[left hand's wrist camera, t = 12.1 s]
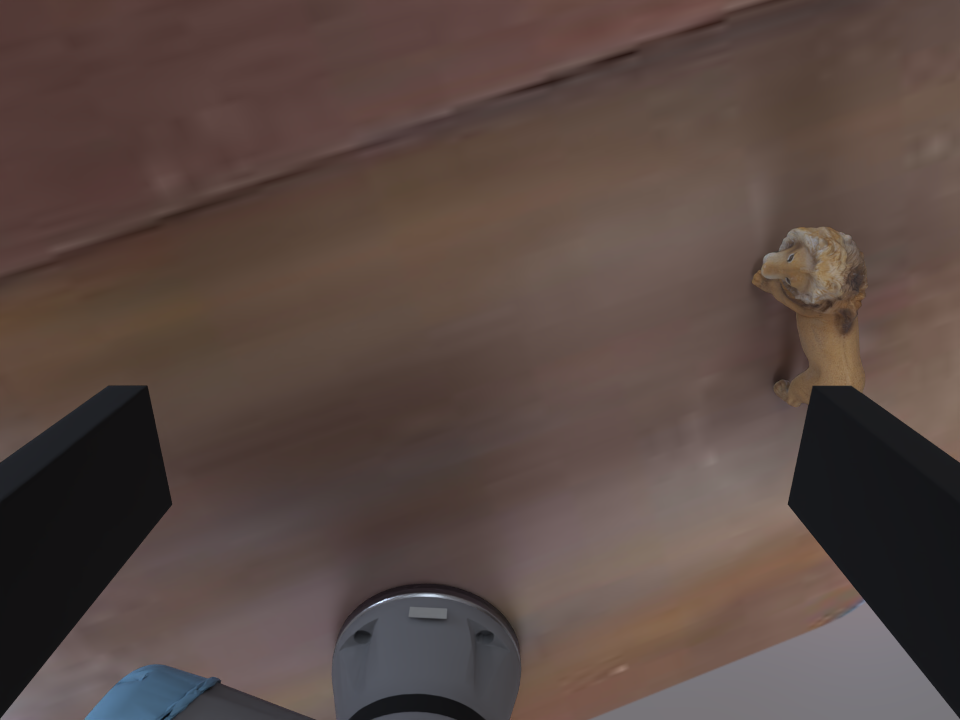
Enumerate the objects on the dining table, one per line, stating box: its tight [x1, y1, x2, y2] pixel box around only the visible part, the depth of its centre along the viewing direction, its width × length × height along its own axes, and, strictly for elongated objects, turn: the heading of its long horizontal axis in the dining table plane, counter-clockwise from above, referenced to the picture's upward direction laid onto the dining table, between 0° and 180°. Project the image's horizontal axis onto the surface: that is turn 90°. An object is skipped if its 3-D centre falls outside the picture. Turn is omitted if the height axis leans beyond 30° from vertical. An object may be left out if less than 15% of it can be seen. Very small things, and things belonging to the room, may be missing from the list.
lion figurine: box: [752, 227, 868, 407], centre depth 37 cm, size 15×5×9 cm, turn 27°
